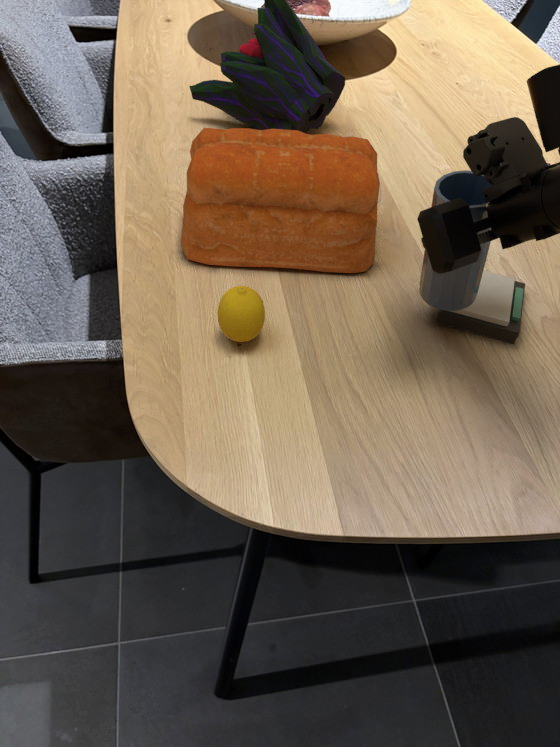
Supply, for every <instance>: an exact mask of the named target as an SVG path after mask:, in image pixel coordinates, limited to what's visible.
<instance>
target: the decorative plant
mask: <svg viewBox="0 0 560 747" xmlns="http://www.w3.org/2000/svg"><path fill="white" fill-rule="evenodd" d="M263 1H264V7H257V23H254V25H253V31H254V32H252V35H255V37H252V38H251V39H249V40H248V41H247V43H243V44H241V45H240V46H239V47H238V48H239V51H231V50H230V51H229V50H227V51H223V52H221V53H220V59H221V60H220V63H219V65H220V72H221V74H222V75H223V76H224V77H226V78H227V79H228V80H229V81H227V80H226V81H225V80H220V79H208V80H203V81H200V82H198V83H196V84H192V85H189V86H188V87H189V91H190V94H191V98H192V100H194V101H199V102H203V103H206V104H208V105H209V106H212V107H213V108H217V109H218V110H220V111H221V112H224V113H225V114H227V115H229V116H231V118H233V119H235V120H237V121H239V122H241V123H243V124H245V125H247V126H249V127H252V128H253V129H256V130H266V129H284V130H298V131H301V132H303V133H306V134H307V132H308V131H309V130H310V129H312V130H318V129H319V128H321V127H322V126H323V124H324V122H325V119H326V118H327V117H328V116H329V114H331V112H332V111H333V109H334V108H335V106H336V104H337V103H338V100H340V98H341V95H342V93H343V90H344V89H345V86H346V76H344V75H343V74H342V73H341V72H340V71H338V70H337V69H336V68H335V67H334V66H333V65H332V64H331V63H330V62H328V60H327V58H326V57H325V56H324V54H323V52H322V50H321V49H320V48H319V45H318V44H317V43H316V41H315V39H314V38H313V36H312V35H311V33H310V32H309V31H308V29H307V28H306V26H305V25H304V23H303V22H302V20H300V19H301V18H299V16H298V15H297V13H296V12H295V10H294V9H293V7H292V6H291V5H290V3H289V2H288V1H287V0H263Z"/></svg>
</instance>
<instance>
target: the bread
mask: <svg viewBox="0 0 560 747" xmlns="http://www.w3.org/2000/svg"><path fill="white" fill-rule="evenodd" d="M189 155H190V162H189V164H188V166H187V170H186V192H185V197H184V201H183V205H182V212H183V213H182V216H183V217H182V225H181V226H182V227H181V239H180V241H181V242H180V243H181V247H182V251H183V254H184V255H185V257H186V260H188V261H192V262H197V263H201V264H204V265H212V266H224V267H225V266H226V267H248V268H251V267H254V268H257V267H258V268H277V269H291V270H305V271H313V272H324V273H344V274H355V273H357V274H358V273H364V272H367V271H368V270H369V269H370V268H372V266H373V265H374V264H375V257H376V237H377V226H378V204H379V203H378V202H379V194H380V187H381V182H380V177H379V173H378V152H377V151H376V150H375V148H374V146H373V145H372V144H371V141H370V140H369V139H368V138H363V137H357V136H341V135H338V134H337V135H336V134H333V133H332V134H331V133H319V134H318V133H317V134H309V133H307V132H306V133H303V132H301V131H298V130H284V129H266V130H259V129H257V128H248V127H247V128H245V127H244V128H243V127H231V128H214V127H203V128H202V129H201V130H200V132H199V133H198V134H197V135H196V136H195V137H194V139H192V141H191V145H190V150H189Z"/></svg>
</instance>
